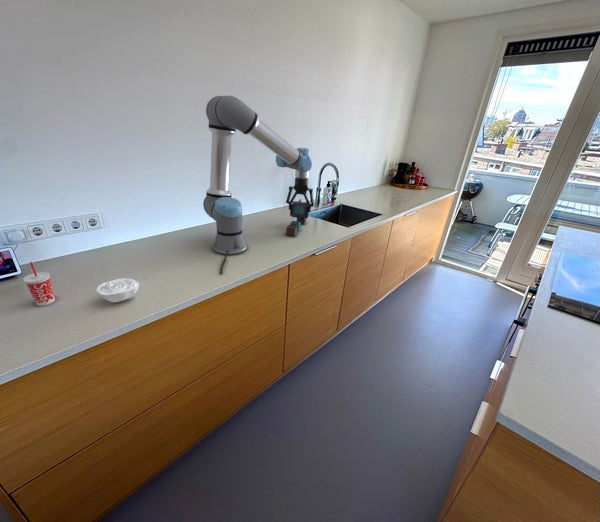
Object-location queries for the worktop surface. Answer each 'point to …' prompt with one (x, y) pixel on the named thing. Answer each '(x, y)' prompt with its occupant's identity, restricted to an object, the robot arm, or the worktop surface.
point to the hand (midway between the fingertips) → (299, 216)
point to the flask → (299, 209)
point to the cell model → (118, 289)
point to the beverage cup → (40, 287)
